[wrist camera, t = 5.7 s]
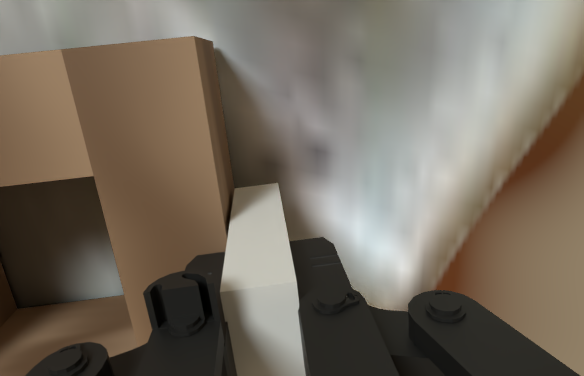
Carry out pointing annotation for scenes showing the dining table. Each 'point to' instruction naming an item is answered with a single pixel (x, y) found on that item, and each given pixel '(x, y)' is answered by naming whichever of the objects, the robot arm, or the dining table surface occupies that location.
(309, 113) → the dining table surface
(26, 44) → the dining table surface
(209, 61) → the socket block
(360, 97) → the dining table surface
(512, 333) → the robot arm
